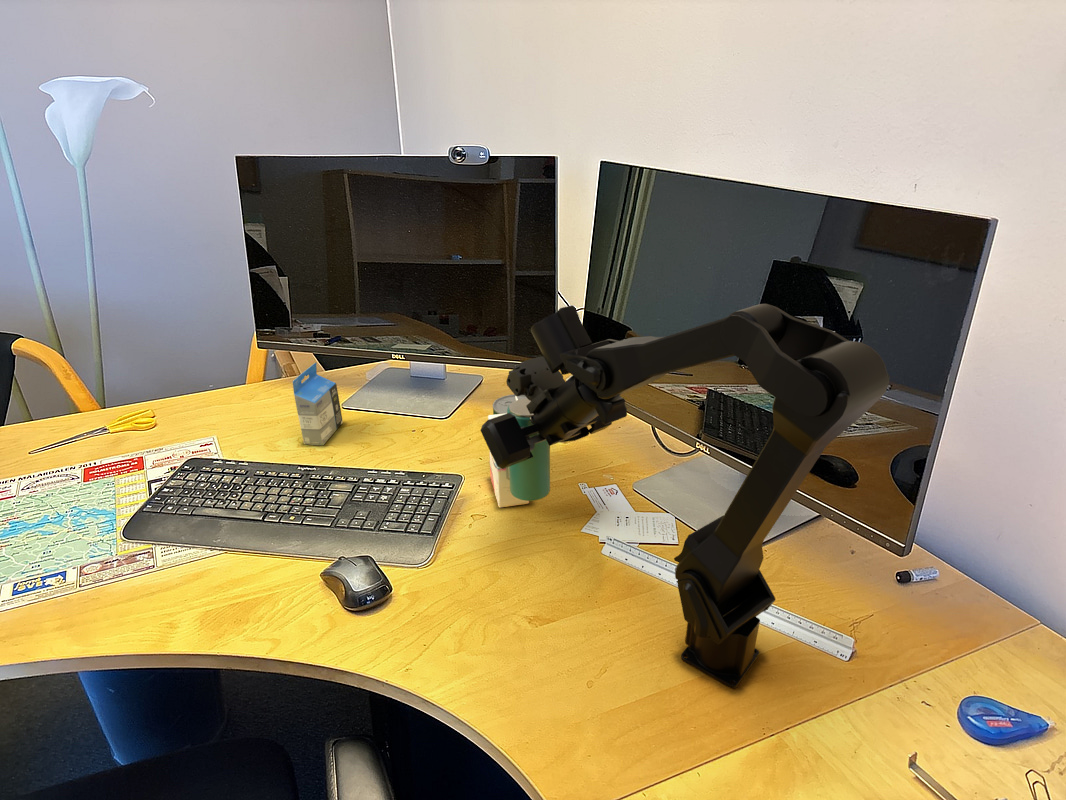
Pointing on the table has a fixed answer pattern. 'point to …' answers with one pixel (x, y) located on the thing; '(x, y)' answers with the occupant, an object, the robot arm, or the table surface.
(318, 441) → the label tape box
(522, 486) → the can
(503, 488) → the ink cartridge box
